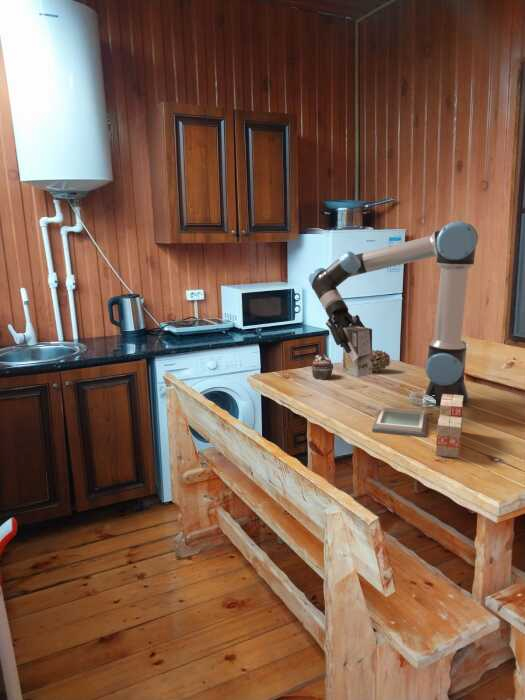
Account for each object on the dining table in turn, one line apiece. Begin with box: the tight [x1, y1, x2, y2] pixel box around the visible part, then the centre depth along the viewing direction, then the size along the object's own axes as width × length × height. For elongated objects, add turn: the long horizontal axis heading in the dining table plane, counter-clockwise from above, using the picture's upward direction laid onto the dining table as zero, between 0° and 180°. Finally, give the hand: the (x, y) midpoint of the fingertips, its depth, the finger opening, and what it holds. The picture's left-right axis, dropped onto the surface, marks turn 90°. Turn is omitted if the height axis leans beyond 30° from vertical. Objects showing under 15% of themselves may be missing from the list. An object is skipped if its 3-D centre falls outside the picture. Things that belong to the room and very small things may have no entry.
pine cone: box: [372, 349, 391, 373], centre depth 238 cm, size 22×10×10 cm, turn 94°
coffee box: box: [342, 326, 373, 378], centre depth 181 cm, size 9×6×16 cm
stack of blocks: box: [435, 394, 464, 459], centre depth 156 cm, size 21×6×12 cm, turn 158°
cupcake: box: [310, 353, 334, 381], centre depth 231 cm, size 10×10×10 cm
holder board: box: [372, 406, 428, 438], centre depth 173 cm, size 16×19×2 cm
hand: (364, 358), depth 179 cm, fingers closed on coffee box, 7 cm apart
